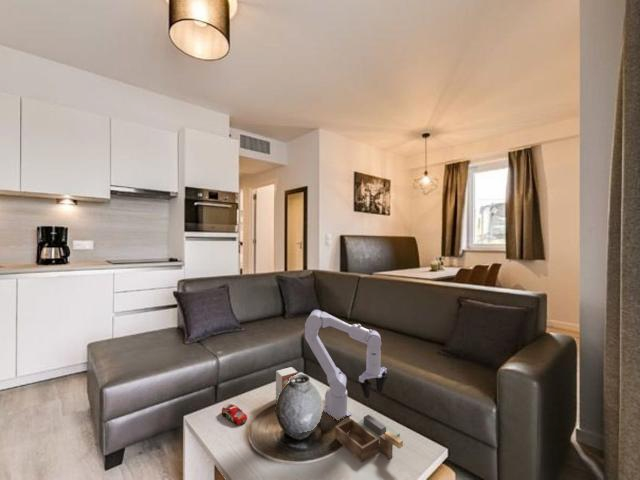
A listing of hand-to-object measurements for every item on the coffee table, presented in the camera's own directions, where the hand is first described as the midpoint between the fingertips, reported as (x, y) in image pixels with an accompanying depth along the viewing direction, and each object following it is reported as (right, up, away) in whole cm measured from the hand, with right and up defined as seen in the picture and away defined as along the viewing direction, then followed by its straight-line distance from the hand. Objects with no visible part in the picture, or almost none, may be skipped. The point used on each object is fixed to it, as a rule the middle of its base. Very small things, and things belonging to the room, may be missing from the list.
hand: (373, 394), depth 124 cm
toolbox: (-7, -10, -17) cm, 21 cm away
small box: (-37, -9, +13) cm, 40 cm away
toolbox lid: (-1, -10, -11) cm, 15 cm away
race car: (-57, -10, -1) cm, 58 cm away
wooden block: (+3, -4, -24) cm, 24 cm away
